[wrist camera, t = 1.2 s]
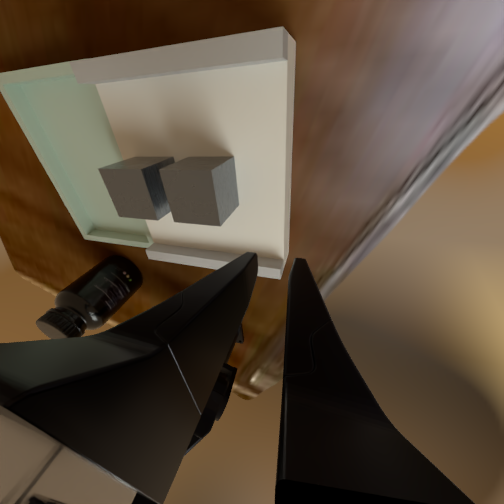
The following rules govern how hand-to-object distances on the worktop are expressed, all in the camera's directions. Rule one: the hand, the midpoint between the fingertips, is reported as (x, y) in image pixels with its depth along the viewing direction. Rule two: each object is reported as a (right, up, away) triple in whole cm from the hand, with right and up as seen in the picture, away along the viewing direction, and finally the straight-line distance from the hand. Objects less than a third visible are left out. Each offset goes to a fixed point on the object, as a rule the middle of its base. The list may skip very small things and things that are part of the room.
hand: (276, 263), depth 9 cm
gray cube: (-9, +7, +11) cm, 16 cm away
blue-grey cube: (-4, +6, +10) cm, 12 cm away
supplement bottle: (-21, -3, +27) cm, 34 cm away
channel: (-5, +8, +13) cm, 16 cm away
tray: (-18, +10, +17) cm, 27 cm away
